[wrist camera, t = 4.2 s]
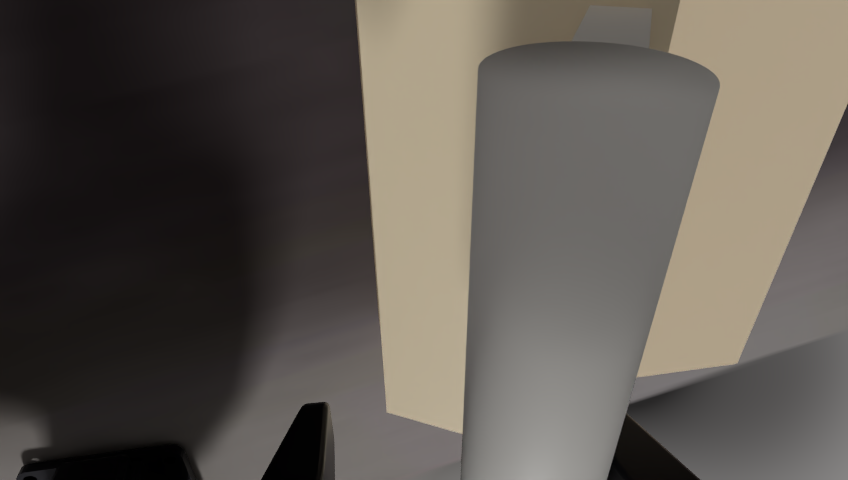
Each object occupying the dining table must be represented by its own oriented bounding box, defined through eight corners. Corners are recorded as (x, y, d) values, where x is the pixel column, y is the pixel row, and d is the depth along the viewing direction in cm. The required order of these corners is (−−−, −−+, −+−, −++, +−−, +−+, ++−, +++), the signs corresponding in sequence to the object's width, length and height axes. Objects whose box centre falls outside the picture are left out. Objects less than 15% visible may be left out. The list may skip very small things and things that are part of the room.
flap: (579, 452, 16) (537, 745, 11) (393, 400, 18) (276, 632, 13) (704, -84, 9) (771, 1, 3) (361, -88, 10) (34, -36, 5)
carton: (665, 281, 23) (737, 367, 19) (378, 314, 22) (392, 414, 18) (780, -117, 16) (942, -112, 11) (346, -109, 14) (359, -100, 10)
